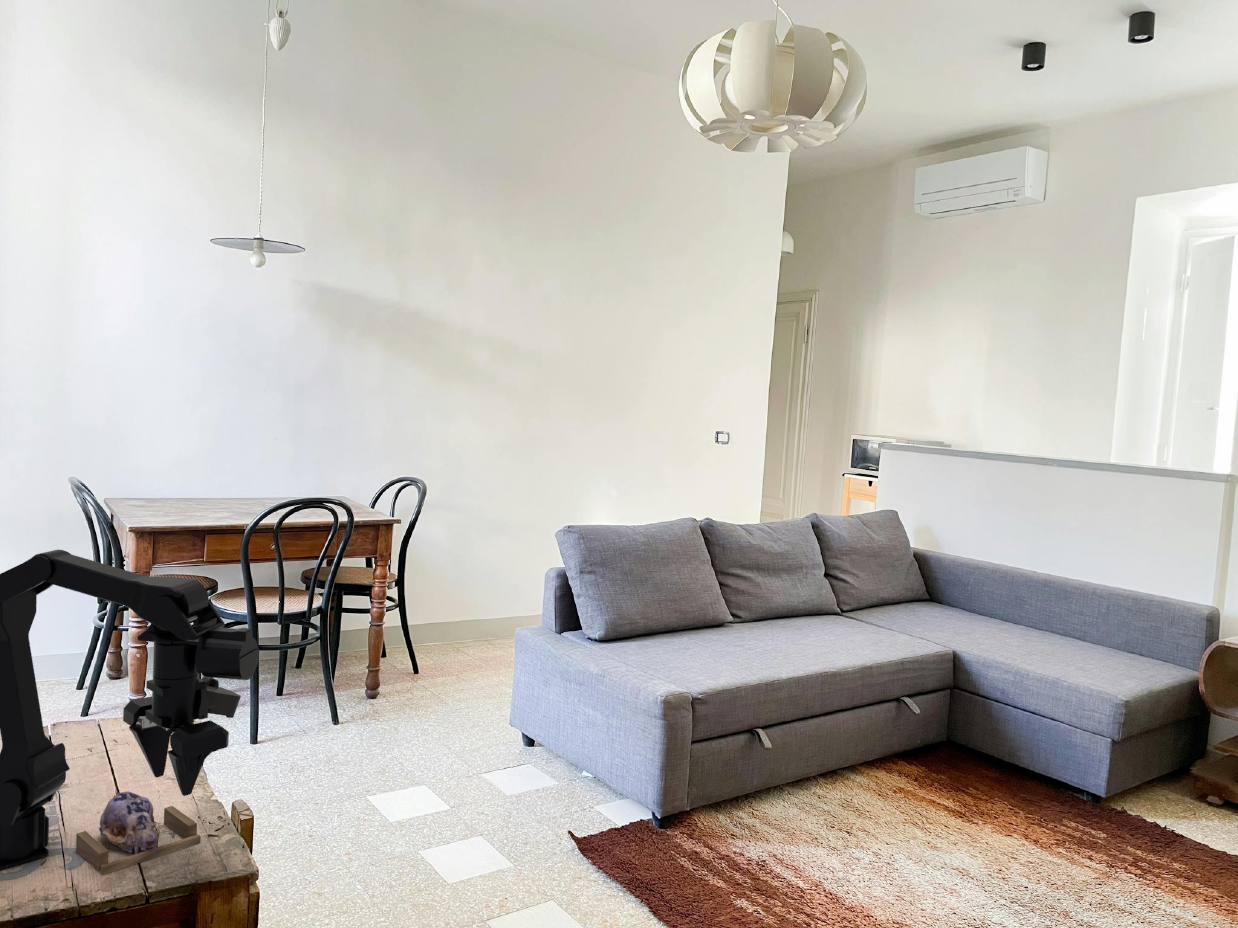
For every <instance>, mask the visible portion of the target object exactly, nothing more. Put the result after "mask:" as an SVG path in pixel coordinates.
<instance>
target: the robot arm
mask: <svg viewBox="0 0 1238 928" xmlns="http://www.w3.org/2000/svg"><path fill="white" fill-rule="evenodd" d="M53 586H57V587H61V588H64V589H66V590H70V591H73V592H77V593H81V594H83V595H87V596H91V597H95V598H97V599H100V600H104V601H107V602H110V603H113V604H118V605H121V606H124V607H126V608H128V609H130V610H131V611H132V612H133V614H135V615H136V616H137V617H138V618H139V619H141V620H143V621H145V622H147V623H149V626H148V628H146V630H145V631H142V633H140V634H139V635H138V636H137V640H138V641H139V642H147V643H148V642H150V643H153V658H152V663H153V664H152V679H147V680H146V689H147V690H150V691H151V692H152V693H151V696H148V697H147V696H146V697H143V698H137V699H133V700H130V701H128V703H127V704H126V705H125V706H124V707H123V711H122V712H123V713H122V715H123V716H122V718H123V719H122V722H124V723H125V724H127V725H129V726H128V730H129V731H130V732H131V733H132V735H133V737H134V739H135V741H136V742H137V745H138V746H139V748H140V750H141V753H142V754H143V756H144V757H145V760H146V761H147V764H148V767H149V768H150V770H151V772H152V774H153V777H155V778H161V777H163V776H164V775H165V770H166V765H167V759H168V757H169V761H170V764H171V766H172V769H173V773H174V776H175V778H176V782H177V786H178V787H179V791H180V794H181V795H182V796H183V797H186V796H189V795H191V794H192V793H193V790H194V787H195V786H196V782H197V780H198V777H199V774H200V772H201V770H202V767H203V765H204V763H205V760H206V759H207V758H208V756H209V755H211V754H212V753H214V752H217V751H218V750H222V749H226V748H228V746H229V735H230V734H229V733H230V732H229V730H227V729H225V727H223V726H221V725H219V724H218V723H216V722H215V721H213V720H206V721H205V719H209V714H211V715H216V716H217V715H219V716H225V717H226V718H228V719H234V717H235V714H236V712H237V708H238V706H239V704H240V703H239V702H240V700H241V697H242V696H241V694H238V693H236V692H234V691H232V690H230V689H227V688H224V687H222V686H220V684H219V680H218V679H226V680H227V679H228V680H229V679H230V680H239V681H242V680H243V681H247V680H251V678H252V677H253V676H254V674H255V673H256V669H257V667H258V664H259V657H260V648H258V643H257V640H256V639H255V638H254V637H253V629H252V628H251V627H250V628H249V627H241V628H240V627H239V628H234V627H233V628H232V627H231V628H230V627H225V625H226V624H225V621H224V620H223V619H222V617H221V616H220V614H219V612H218V611H217V610H216V608H215V607H214V605H213V603H212V602H211V601H210V599H209V596H208V592H207V590H206V588H205V585H204V584H203V583H202V582H201V581H199V580H197V579H194V578H193V579H192V578H185V577H177V576H148V575H142V574H140V573H136V572H132V571H129V570H125V569H122V568H120V567H115V566H112V565H108V564H105V563H101V562H99V561H95V560H92V559H89V558H85V557H82V556H77V555H74V554H72V553H70V552H69V551H66V550H64V549H54V550H50V551H49V550H48V551H45V552H42V553H40V552H39V553H37V554H34V555H33V556H32V557H31V558H29V559H27V560H25V561H24V562H22V563H20V564H18V565H16V566H13V567H12V568H10V569H7V570H5V571H3V572H0V739H1V750H0V870H3V869H7V868H10V867H14V866H17V865H21V864H23V863H28V862H31V861H35V860H36V859H37V860H38V859H40V858H43V857H47V856H49V855H50V850H49V849H48V848H46V847H47V846H48V845H49V840H50V839H49V837H50V836H49V834H50V831H49V830H50V817H48V815H46V808H45V807H44V805H47V804H48V803H50V802H52V801H53V800H54V797H55V794H56V793H57V791H59V790H60V789H61V787H62V786H63V785H64V783H65V781H66V779H67V771H69V770H70V766H69V764H68V762H67V759H66V746H65V744H64V743H63V742H61V743H57V744H54V743H53V742H52V741H51V740H50V739H49V738H48V737H47V735H46V733H45V730H44V724H43V717H42V711H41V704H40V698H39V693H38V687H37V682H36V681H37V679H36V674H35V668H34V663H33V662H34V661H33V654H32V649H31V643H30V637H29V636H30V631H31V628H32V626H33V622H34V620H35V617H36V615H37V605H38V604H37V601H38V600H37V597H38V595H39V594H41V593H43V592H44V591H46V590H48V589H50V588H51V587H53ZM197 619H198V622H196V623H194V624H191V623H190V622H192V621H195V620H197ZM200 674H201V675H202V676H203V677H202V678H200ZM196 720H199V721H201V720H204V721H202V722H198V723H195V721H196ZM169 746H170V748H171V750H169Z"/></svg>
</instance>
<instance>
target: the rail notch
mask: <svg viewBox="0 0 1238 928" xmlns="http://www.w3.org/2000/svg"><path fill="white" fill-rule="evenodd" d="M163 825H164V826H166V828H168V829H170V830H171V831H172V832H174V833H175V834H176V835H178V836H179V837H181V838H182V839H178V840H175V841H172V842H169V843H167V844H166V843H165V844H163V845H160V846H158V847H157V848H156V847H155V848H154V849H153V848H152V849H148V850H147V849H146V850H143V851H141V852H137V854H135V853H134V854H132V855H129V856H126V857H123V858H119V859H116V860H114V861H110V862H109V858H110V855H109V852H110V851H109V849H107V848H106V846H104V845H103V844H102V843H101V842H99V841H98V840H97V839H96V838H95V837H93V836H92V835H91V834H89V832H87V831H85V830H84V831H81V832H78V833H76V834H75V835H76V836H75V838H76V839H75V851H76V852H77V853H78V855H80V857H82V858H83V859H84V860H86V862H87V863H89V864H90V865H91V866H92V867H93V868H94V869H95V870H97V872H99V873H100V874H101V875H102V876H104V875H106V874H109V873H112V872H115V871H116V872H117V871H118V870H122V869H124V868H128V867H131V866H133V865H136V864H140V863H143V862H146V861H149V860H152V859H155V858H157V857H160V856H164V855H167V854H169V853H173V852H176V851H179V850H182V849H185V848H188V847H191V846H195V845H198V844H200V843H201V835H200V834H198V823H197V822H196V821H195V820H193V819H192V818H190V817H189V816H188V815H186V814H185V813H183V812H182V811H180V810H179V809H177V808H176V807H175V806H174V805H170V806H167V807H164V808H163Z"/></svg>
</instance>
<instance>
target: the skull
mask: <svg viewBox="0 0 1238 928" xmlns="http://www.w3.org/2000/svg"><path fill="white" fill-rule="evenodd" d="M99 826H100V827H98V830H99V832H100V835H101V836H105V837H106V838H107V840H108V841H109V842H110V843H111V844H113V845H115V846H118V848H119V849H121V850H122V851H126V852H129V853H130V854H131V853H132V852H133V849H134V855H135V854H138V853H139V848H141V851H147V849H148V848H152V847H153V848H152V849H154V848H157V847H159V838H158V836H159V835H160V830H161V829H160V826H159V822H158V821H155V816H154V805H153V804H152V802H151V800H150V799H149V798H148V797H145V796H141V795H139V794H136V793H134V792H131V791H130V790H129V791H123V792H118V793H117V794H116V795H115V796H113V797H112V798H111V799H109V801H108V802H107V804H106V807H105V808H104V810H103V812H102V814H101V815H100V820H99Z"/></svg>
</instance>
